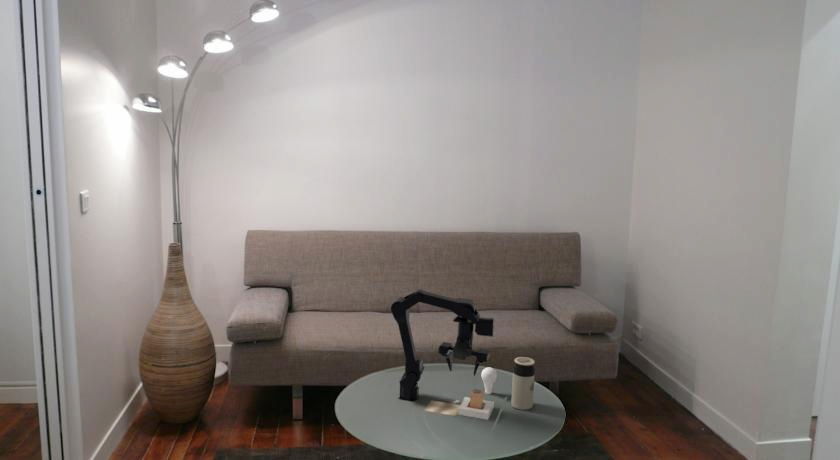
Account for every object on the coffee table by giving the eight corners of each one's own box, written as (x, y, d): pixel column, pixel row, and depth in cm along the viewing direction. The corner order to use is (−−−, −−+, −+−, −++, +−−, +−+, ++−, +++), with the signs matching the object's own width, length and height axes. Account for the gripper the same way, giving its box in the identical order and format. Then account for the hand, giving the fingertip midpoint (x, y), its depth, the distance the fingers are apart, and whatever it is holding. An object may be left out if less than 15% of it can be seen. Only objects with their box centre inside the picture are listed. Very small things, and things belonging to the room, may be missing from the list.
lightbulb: (495, 398, 233) (496, 371, 231) (479, 396, 234) (480, 370, 232) (496, 392, 239) (497, 365, 237) (481, 390, 240) (482, 364, 238)
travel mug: (507, 405, 227) (509, 360, 225) (518, 399, 233) (521, 355, 230) (524, 412, 222) (527, 366, 219) (536, 405, 228) (539, 360, 225)
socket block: (458, 416, 218) (458, 406, 217) (464, 404, 227) (465, 395, 227) (488, 421, 215) (488, 411, 214) (493, 409, 224) (493, 400, 223)
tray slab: (424, 411, 220) (424, 410, 220) (431, 401, 229) (431, 400, 229) (455, 417, 217) (455, 416, 216) (461, 406, 225) (461, 405, 225)
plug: (469, 411, 219) (470, 392, 218) (472, 406, 223) (473, 387, 222) (480, 413, 218) (481, 393, 217) (482, 408, 222) (483, 389, 221)
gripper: (434, 336, 218) (432, 376, 221) (484, 344, 212) (481, 386, 215) (443, 327, 228) (441, 366, 231) (491, 335, 222) (488, 374, 225)
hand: (462, 373), depth 225 cm, fingers open, 9 cm apart
